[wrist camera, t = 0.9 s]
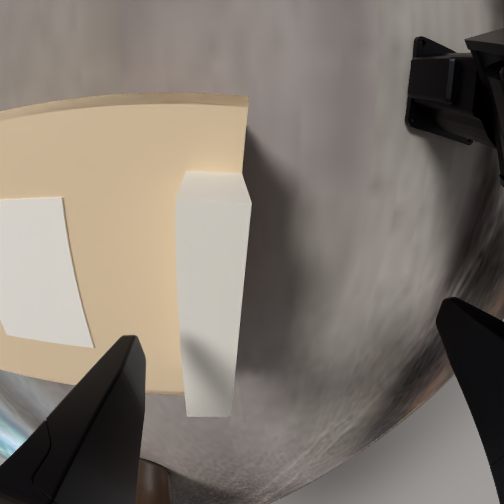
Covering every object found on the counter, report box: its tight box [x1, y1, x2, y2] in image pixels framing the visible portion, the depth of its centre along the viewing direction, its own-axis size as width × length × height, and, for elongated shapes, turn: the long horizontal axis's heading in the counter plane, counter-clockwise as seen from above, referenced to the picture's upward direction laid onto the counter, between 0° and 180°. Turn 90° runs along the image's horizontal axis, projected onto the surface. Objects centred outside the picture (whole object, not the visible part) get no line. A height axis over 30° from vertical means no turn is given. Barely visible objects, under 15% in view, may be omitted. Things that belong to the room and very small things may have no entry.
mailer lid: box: [0, 93, 252, 417], centre depth 12 cm, size 16×16×5 cm
